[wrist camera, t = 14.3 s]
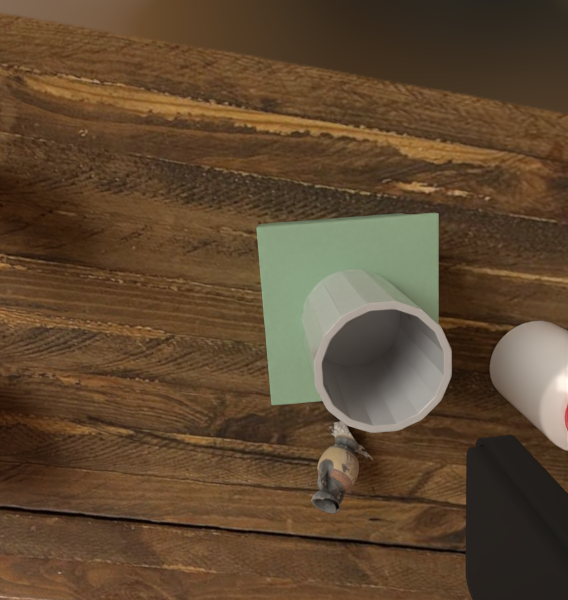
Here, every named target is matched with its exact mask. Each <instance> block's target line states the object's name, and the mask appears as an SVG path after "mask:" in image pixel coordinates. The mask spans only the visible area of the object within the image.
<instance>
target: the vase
mask: <svg viewBox="0 0 568 600" xmlns="http://www.w3.org/2000/svg"><path fill="white" fill-rule="evenodd" d="M333 424H334V423H333ZM334 425H335V426H334V427H333V428H335V430H332V431H334V432H333V433H331V434H332V435H334V437H335V443H336V444H334V446H331V447H329V448H328V449H327V450H326V451H325V452H324V453H323V455H322V456H321V458H320V460H319V463H318V468H317V470H318V475H319V477H318V480H317V483H318V487H319V489H320V491H318V492H317V493H315V494H314V496H313V497H312V499H311V501H312V503H313V505H314V506H315V507H317V508H318V509H320V510H322V511H324V512H327V513H331V514H335V513H338V511H339V505H340V504H341V502H342V500H343V497H344V494H345V491H346V489H348V488H350V487H351V486H353V484H354V483H355V482H356V480H357V477H358V473H359V464H358V460H357V458H358V457H359V456H358V457H356V454H355V453H354V452H359V453H358V454H363V455H365V458H366V456H367V459H368V457H370V458H371V459H372V457H371V456H370V455H369V454H368V452H366V451H365V452H364V451H362V450H361V448H363V449H364V450H365V448H364V447H363V446H362V444H361V445H359V444H358V443H357V442H356V441H355V439H354V438H353V436H352V435H351V433H350V431H349V430H348V427H347V425H345V424H344V423H343V422H342V421H340V422H339V423H338V422H337V423H336V422H335V424H334ZM331 428H332V426H331V427H330V428H329V429H331ZM358 450H359V451H358ZM360 457H361V456H360ZM364 461H365V460H364ZM372 461H373V459H372ZM359 462H361V461H359ZM309 469H310V468H309ZM307 482H308V481H307ZM310 483H311V482H310ZM302 487H303V486H302ZM308 488H309V487H308Z"/></svg>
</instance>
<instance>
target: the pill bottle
mask: <svg viewBox="0 0 568 600" xmlns="http://www.w3.org/2000/svg"><path fill="white" fill-rule="evenodd" d="M490 376H491V380H492V382H493V385H494V386H495V388H496V389H497V391H498V392H499V393H500V394H501V395H502V396H503V397H504V398H505V399H506V400H507V401H508V402H510V403H511V404H512V405H513V406H514V407H515V408H516V409H517V410H518V411H519V412H520V413H521V414H523V415H524V416H525V417H526V418H527V419H528V420H529V421H530V422H531V423H532V424H533V425H534V426H535V427H537V428H538V429H539V430H540V431H541V432H542V433H543V434H544V435H545V436H546V437H547V438H548V439H549V440H551V441H552V442H553V443H554V444H555V445H557V446H558V447H560V448H562V449H564V450H566V451H568V330H566V329H565V328H563V327H561V326H559V325H556V324H554V323H551V322H546V321H532V322H528V323H524V324H521V325H519V326H517V327H515V328H513V329H512V330H510V331H509V332H508V333H507V334H506V335H504V336H503V337H502V338H501V340H500V341H499V342H498V344H497V345H496V347H495V349H494V351H493V353H492V356H491V360H490Z"/></svg>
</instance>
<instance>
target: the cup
mask: <svg viewBox="0 0 568 600" xmlns="http://www.w3.org/2000/svg"><path fill="white" fill-rule="evenodd" d="M301 325H302V333H303V339H304V343H305V347H306V351H307V355H308V359H309V363H310V367H311V371H312V375H313V379H314V383H315V387H316V390H317V392H318V393H319V395H320V397H321V399H322V401H323V403H324V405H325V407H326V409H327V410H328V411H329V412H330V413H332V414H333V415H334V416H335V417H337V418H338V419H339V420H340V421H342V422H343V423H344V424H345V425H347V426H350V427H353V428H357V429H360V430H364V431H367V432H371V433H377V432H389V431H398V430H401V429H403V428H405V427H407V426H409V425H412V424H414V423H416V422H418V421H420V420H422V419H423V418H424V417H425V416H426V415H427V414H428V413H429V412H430V411H431V410H432V409H433V408H434V407H435V406H436V405H437V404H438V403H439V402H440V401H441V400H442V398H443V395H444V393H445V391H446V388H447V386H448V384H449V381H450V379H451V376H452V351H451V347H450V345H449V343H448V341H447V338H446V336H445V334H444V332H443V329H442V327H441V326H440V325H439V324H438V323H437V322H435V321H434V320H433V319H432V318H431V317H430V316H429V315H427V314H426V313H425V312H424V311H423V310H422V309H421V308H419V307H418V306H417V305H416V304H415V303H413V302H412V301H411V300H410V299H409V298H407V297H406V296H405V295H404V294H403V293H402V292H400V291H399V290H398V289H397V288H396V287H394V286H393V285H392V284H391V283H390V282H388V281H387V280H386V279H385V278H384V277H382V276H379V275H378V274H375V273H373V272H370V271H366V270H360V269H349V270H343V271H339V272H336V273H334V274H331V275H329V276H328V277H326V278H324V279H323V280H322V281H320V282H319V283H318V284H317V285H316V286H315V287H314V288H313V290H312V291H311V292H310V294H309V295H308V297H307V299H306V301H305V304H304V307H303V310H302V317H301Z"/></svg>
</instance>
